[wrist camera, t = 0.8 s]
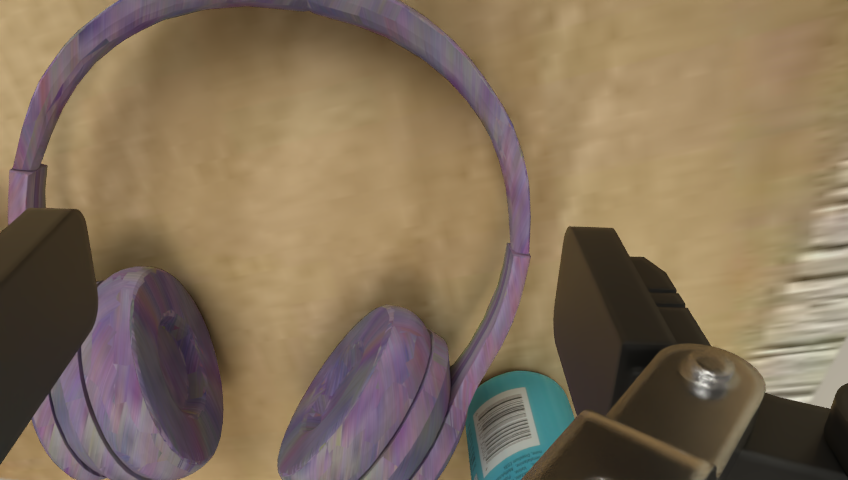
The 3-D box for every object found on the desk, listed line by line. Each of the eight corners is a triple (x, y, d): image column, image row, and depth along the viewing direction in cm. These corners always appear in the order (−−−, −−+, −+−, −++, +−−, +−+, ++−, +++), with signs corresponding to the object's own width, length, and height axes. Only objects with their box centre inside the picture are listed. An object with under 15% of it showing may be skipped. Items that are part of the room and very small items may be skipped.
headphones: (456, 455, 36) (558, 17, 30) (474, 585, 28) (617, 28, 22) (54, 399, 34) (76, -79, 28) (-46, 521, 26) (-45, -104, 20)
